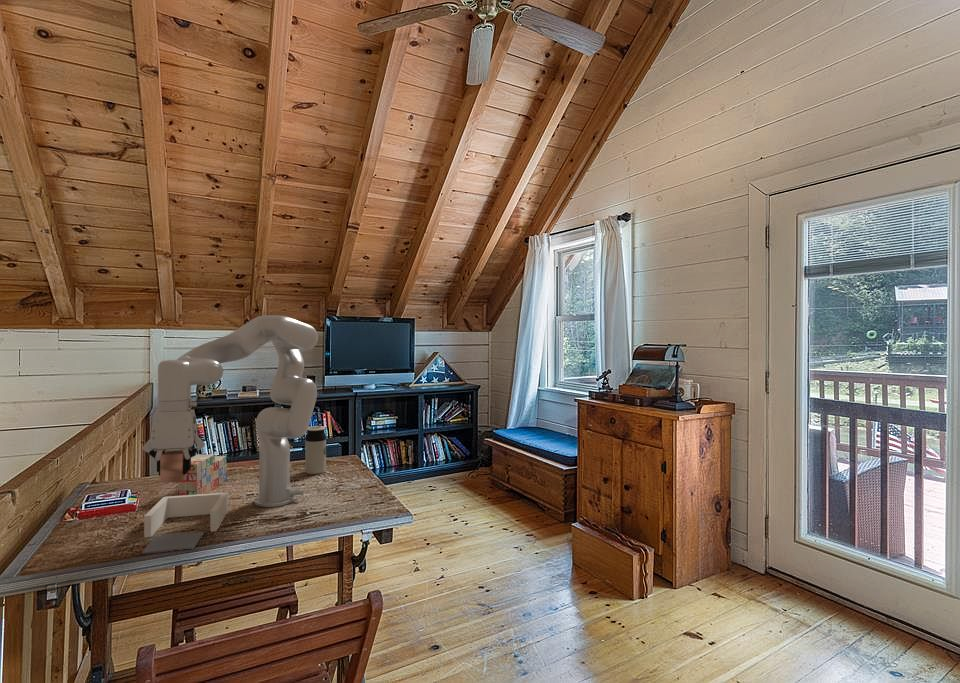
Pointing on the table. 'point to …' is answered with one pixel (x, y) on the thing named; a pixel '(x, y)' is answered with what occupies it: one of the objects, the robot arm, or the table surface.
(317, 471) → the travel mug
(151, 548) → the mat
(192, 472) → the stack of blocks
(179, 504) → the u-shaped wall
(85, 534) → the table surface
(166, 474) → the block
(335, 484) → the table surface
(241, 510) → the table surface
